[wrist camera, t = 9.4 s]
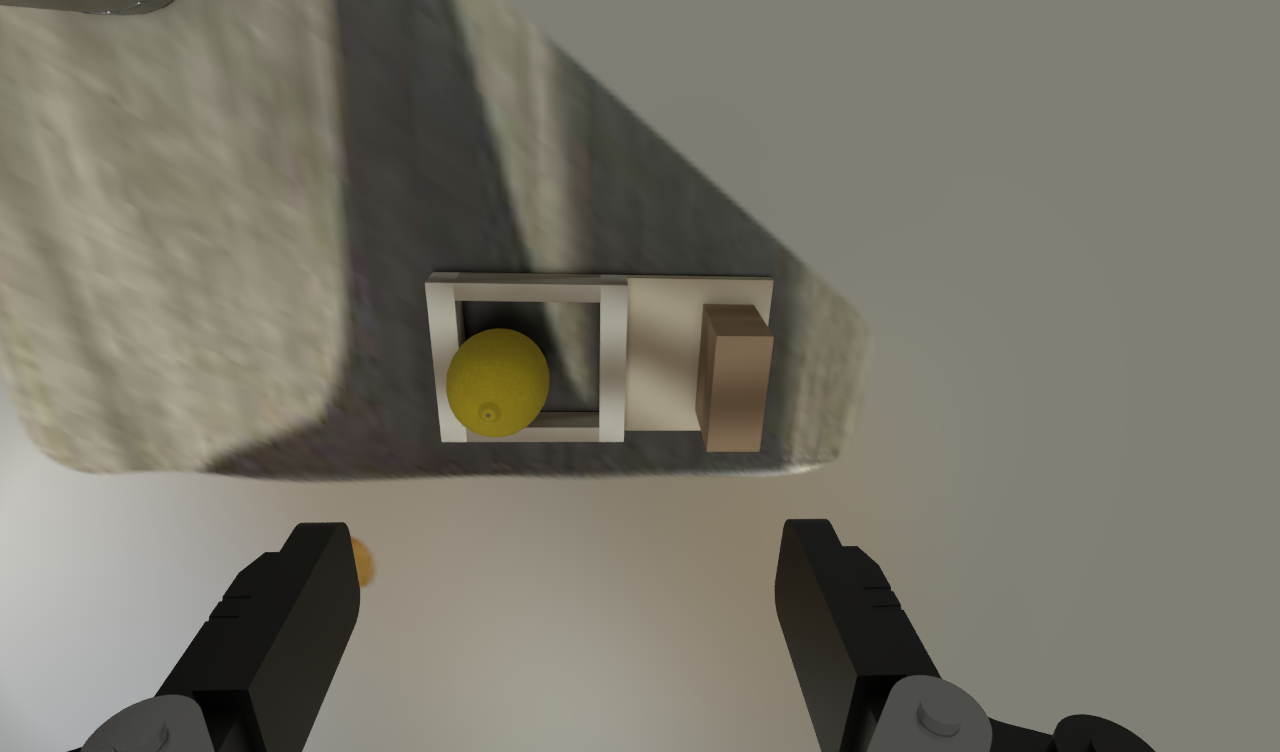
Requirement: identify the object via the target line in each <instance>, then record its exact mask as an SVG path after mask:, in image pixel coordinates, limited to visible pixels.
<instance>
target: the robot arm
mask: <svg viewBox="0 0 1280 752" xmlns="http://www.w3.org/2000/svg"><path fill="white" fill-rule="evenodd" d="M171 1H173V0H0V5H4V6H16V7H28V8H40V9H52V10H64V11H76V12H83V13H88V14H101V15H112V14H113V15H135V14H145V13H148V12H151V11H154V10H157V9H160V8H162V7H164V6H166V5H167V4H168V3H170V2H171ZM775 604H776V611H777V615H778V619H779V622H780V625H781V628H782V631H783V634H784V637H785V640H786V643H787V647H788V649H789V653H790V655H791V659H792V662H793V665H794V668H795V671H796V674H797V677H798V680H799V683H800V687H801V690H802V693H803V696H804V698H805V702H806V705H807V708H808V711H809V714H810V717H811V720H812V723H813V726H814V730H815V733H816V736H817V739H818V742H819V745H820V748H821V751H822V752H1155V751H1154V750H1153V749H1152V748H1151V747H1150V746H1149V745H1148V744H1147V743H1146V742H1144V741H1143V740H1142V739H1141V738H1140V737H1138V736H1137V735H1135V734H1134V733H1132V732H1131V731H1129V730H1128V729H1126V728H1124V727H1122V726H1120V725H1118V724H1116V723H1114V722H1112V721H1110V720H1107V719H1103V718H1101V717H1097V716H1092V715H1084V714H1082V715H1072V716H1068V717H1066V718H1064V719H1062V720H1061V721H1060V722H1059V723H1058V725H1057V727H1056V729H1055V731H1054V733H1053V735H1050V734H1045V733H1042V732H1038V731H1034V730H1030V729H1026V728H1022V727H1018V726H1014V725H1010V724H1006V723H1003V722H1000V721H997V720H994V719H992V718H989V717H987V715H986V713H985V711H984V710H983V709H982V708H981V706H980V705H979V704H978V703H977V702H976V700H975V699H974V698H973V697H971V696H970V695H969V694H968V693H967V692H965V691H964V690H962V689H961V688H959V687H958V686H956V685H954V684H952V683H950V682H948V681H946V680H943V679H942V678H941V677H940V675H939V673H938V671H937V669H936V667H935V666H934V664H933V662H932V660H931V658H930V657H929V655H928V653H927V651H926V650H925V648H924V646H923V644H922V642H921V641H920V639H919V637H918V635H917V633H916V631H915V630H914V628H913V626H912V624H911V622H910V621H909V619H908V617H907V615H906V613H905V612H904V610H901V604H900V603H899V601H898V599H897V597H896V595H895V594H894V592H893V591H891V587H890V584H889V583H888V581H887V579H886V577H885V576H884V574H883V572H882V570H881V568H880V566H879V565H878V564H877V563H876V562H875V561H873V560H872V559H871V558H870V557H869V556H868V555H867V554H866V553H864V552H863V551H862V550H861V549H860V548H859V547H858V546H842V545H841V543H840V541H839V539H838V537H837V535H836V533H835V531H834V529H833V527H832V525H831V523H830V522H829V520H827V519H788V520H786V522H785V524H784V528H783V534H782V540H781V547H780V553H779V560H778V566H777V573H776V579H775ZM359 606H360V587H359V581H358V575H357V570H356V565H355V559H354V554H353V549H352V543H351V538H350V533H349V529H348V527H347V525H346V524H345V523H343V522H340V523H339V522H338V523H337V522H334V523H333V522H331V523H300V524H298V525H297V526H296V527H295V529H294V530H293V531H292V533H291V534H290V536H289V538H288V539H287V541H286V543H285V544H284V546H283V547H282V549H281V550H280V552H265V553H264V554H262V555H261V556H260V557H259V558H257V559H256V560H255V561H254V562H252V563H251V564H250V565H248V566H247V567H246V568H245V569H243V570H242V571H241V572H240V573H239V574H238V575H237V576H236V578H235V579H234V581H233V582H232V584H231V585H230V587H229V588H228V590H227V591H226V593H225V594H224V595H223V600H222V602H221V601H220V602H219V603H218V604H217V606H216V607H215V609H214V610H213V612H212V613H211V614H210V616H209V621H207V622H205V623H204V625H203V626H202V628H201V629H200V630H199V632H198V633H197V635H196V636H195V638H194V639H193V641H192V642H191V644H190V645H189V647H188V648H187V649H186V651H185V653H184V654H183V655H182V657H181V658H180V660H179V661H178V663H177V664H176V665H175V667H174V668H173V670H172V671H171V673H170V674H169V676H168V677H167V679H166V680H165V682H164V683H163V685H162V686H161V687H160V689H159V690H158V692H157V693H156V695H155V696H154V697H153V698H149V699H146V700H143V701H141V702H138V703H136V704H134V705H131V706H129V707H127V708H125V709H123V710H122V711H120V712H119V713H117V714H115V715H114V716H112V717H111V718H110V719H108V720H107V721H106V722H105V723H103V724H102V725H101V726H100V727H99V728H98V729H97V730H96V731H95V732H94V733H93V734H92V735H91V736H90V737H89V738H88V740H87V741H86V743H85V744H84V746H83V747H81V748H78V749H75V750H71V751H68V752H302V750H303V748H304V746H305V743H306V741H307V738H308V736H309V734H310V731H311V729H312V726H313V724H314V721H315V719H316V717H317V715H318V712H319V710H320V707H321V705H322V703H323V700H324V698H325V696H326V693H327V691H328V688H329V686H330V684H331V681H332V679H333V677H334V674H335V672H336V669H337V667H338V665H339V662H340V660H341V657H342V655H343V653H344V650H345V648H346V646H347V643H348V641H349V638H350V636H351V633H352V631H353V629H354V626H355V624H356V621H357V617H358V613H359Z"/></svg>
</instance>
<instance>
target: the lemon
mask: <svg viewBox="0 0 1280 752" xmlns="http://www.w3.org/2000/svg"><path fill="white" fill-rule="evenodd" d="M548 390H549V369H548V366H547V363H546V359H545V357H544V355H543V353H542V352H541V350H540V349H539V347H538V346H537V345H536V344H535V343H534V342H533V341H532V340H531V339H530V338H528V337H527V336H525V335H523V334H522V333H520V332H517V331H514V330H511V329H501V328H496V329H490V330H485V331H482V332H480V333H478V334H475V335H473V336H472V337H471V338H470V339H468V340H467V341H466V342H464V343H463V344H462V345H461V347H460V348H459V349H458V351H457V352H456V353H455V355H454V356H453V358H452V360H451V363H450V366H449V368H448V371H447V379H446V394H447V398H448V403H449V406H450V408H451V410H452V412H453V414H454V416H455V418H456V419H457V420H458V421H459V422H460V423H461V424H462V425H463V426H464V427H466V428H467V429H469V430H470V431H471V432H474V433H476V434H478V435H481V436H486V437H491V438H495V437H506V436H509V435H513V434H515V433H517V432H519V431H521V430H523V429H524V428H526V427H527V426H528V425H529V424H530V423H531V422H532V421H533V420H534V419H535V418H536V417H537V415H538V414H539V412H540V410H541V409H542V407H543V406H544V404H545V401H546V398H547V394H548Z"/></svg>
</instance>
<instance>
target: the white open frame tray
mask: <svg viewBox="0 0 1280 752" xmlns="http://www.w3.org/2000/svg"><path fill="white" fill-rule="evenodd" d="M773 281H774V280H773V279H772V278H771V277H726V276H661V275H597V274H533V273H468V272H433V273H432V274H431V275H430V276H429V278H428V279H427V280H426V282H425V289H426V298H427V308H428V317H429V326H430V336H431V345H432V355H433V364H434V374H435V383H436V393H437V402H438V412H439V421H440V430H441V440H442V442H624V430H701V433H702V437H703V440H704V444H705V448H706V451H707V452H759V450H760V442H761V434H762V427H763V419H764V411H765V403H766V395H767V387H768V379H769V371H770V363H771V356H772V348H773V340H774V336H773V334H772V333H771V331H770V330H769V328H768V322H769V314H770V306H771V297H772V289H773ZM462 301H527V302H600V388H599V412H539V414H538V415H537V417H536V418H535V419H534V420H533V421H532V422H531V423H530V424H529V425H528V426H527V427H526V428H524V429H523V430H521V431H519V432H517V433H515V434H513V435H509V436H506V437H495V438H491V437H486V436H481V435H478V434H476V433H474V432H471V431H470V430H469V429H467V428H466V427H464V426H463V425H462V424H461V423H460V422H459V421H458V420H457V419H456V418H455V416H454V414H453V412H452V410H451V408H450V406H449V403H448V398H447V394H446V379H447V371H448V368H449V366H450V363H451V360H452V358H453V356H454V355H455V353H456V352H457V351H458V349H459V348H460V347H461V345H462V344H463V343H464V342H465V330H464V318H463V306H462Z"/></svg>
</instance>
